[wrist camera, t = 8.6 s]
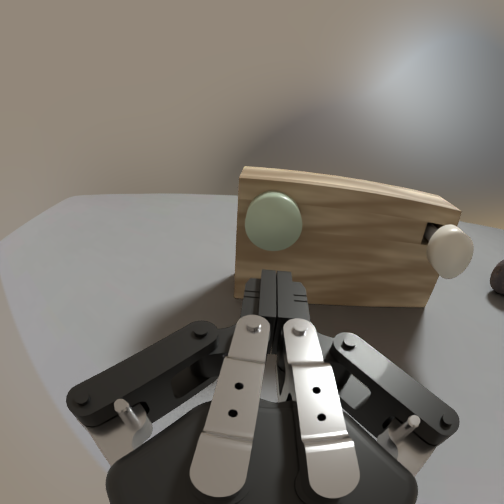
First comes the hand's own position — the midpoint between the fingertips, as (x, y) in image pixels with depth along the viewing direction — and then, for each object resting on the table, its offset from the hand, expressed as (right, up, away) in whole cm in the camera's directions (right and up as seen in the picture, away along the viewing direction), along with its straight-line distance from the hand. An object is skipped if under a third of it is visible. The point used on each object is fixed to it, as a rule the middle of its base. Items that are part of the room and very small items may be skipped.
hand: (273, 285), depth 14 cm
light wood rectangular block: (+8, -3, +15) cm, 17 cm away
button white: (+16, +1, +8) cm, 18 cm away
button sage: (+1, +3, +10) cm, 11 cm away
